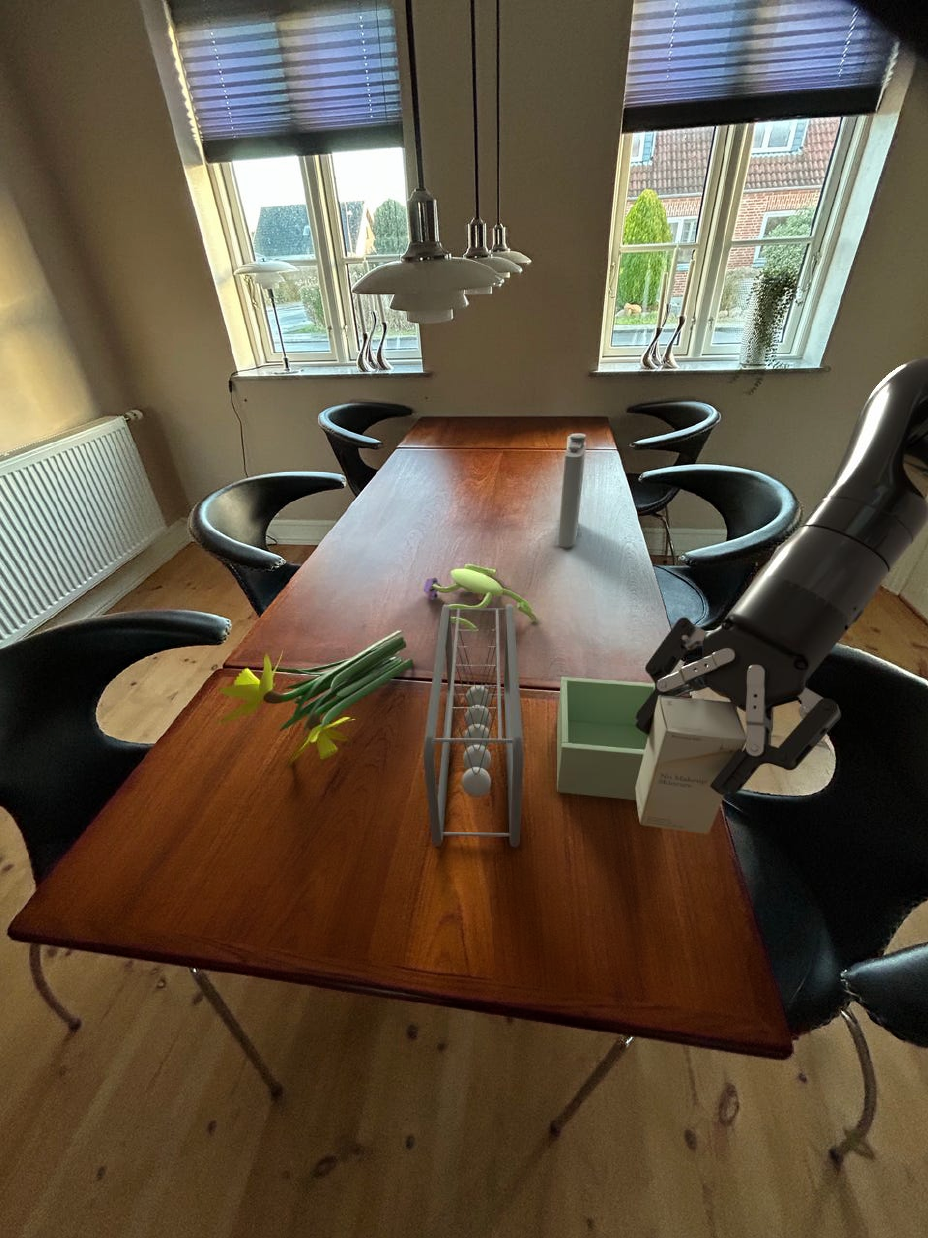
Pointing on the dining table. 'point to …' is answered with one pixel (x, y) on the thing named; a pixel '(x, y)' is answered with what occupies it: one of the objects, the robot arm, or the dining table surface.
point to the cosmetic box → (686, 762)
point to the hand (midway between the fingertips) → (677, 759)
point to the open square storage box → (600, 737)
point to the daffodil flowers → (322, 690)
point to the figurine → (475, 591)
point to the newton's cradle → (475, 727)
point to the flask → (571, 489)
